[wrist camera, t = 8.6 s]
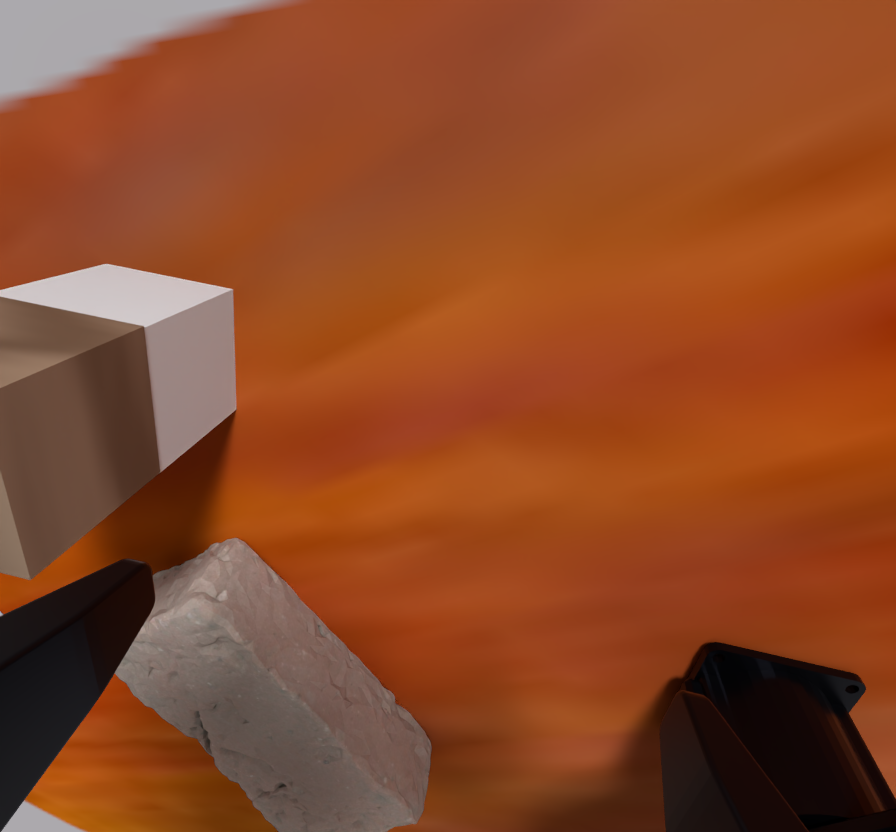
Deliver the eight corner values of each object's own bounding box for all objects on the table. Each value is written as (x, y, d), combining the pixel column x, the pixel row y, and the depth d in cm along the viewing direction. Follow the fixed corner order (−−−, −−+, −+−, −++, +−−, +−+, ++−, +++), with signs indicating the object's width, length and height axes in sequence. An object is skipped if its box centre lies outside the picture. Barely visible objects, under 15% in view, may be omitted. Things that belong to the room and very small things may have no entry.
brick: (135, 584, 28) (64, 660, 24) (243, 523, 25) (183, 598, 21) (333, 770, 33) (302, 860, 29) (443, 737, 30) (428, 833, 26)
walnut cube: (144, 326, 15) (-20, 396, 11) (160, 472, 18) (30, 580, 13) (-17, 293, 16) (-239, 347, 11) (20, 440, 18) (-153, 534, 13)
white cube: (233, 288, 20) (143, 327, 15) (236, 409, 22) (159, 473, 18) (106, 263, 20) (-18, 294, 16) (123, 384, 22) (19, 441, 18)
